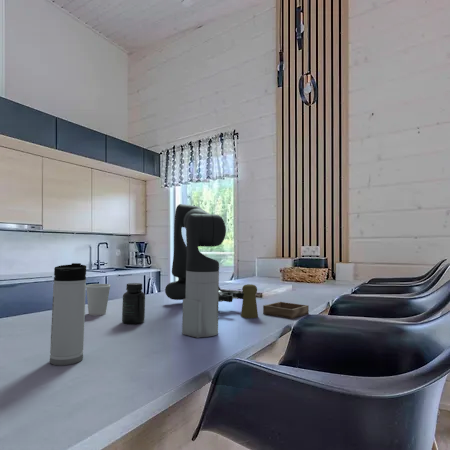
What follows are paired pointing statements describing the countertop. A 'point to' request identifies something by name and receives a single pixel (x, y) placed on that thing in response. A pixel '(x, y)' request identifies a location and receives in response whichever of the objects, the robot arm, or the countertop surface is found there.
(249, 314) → the cork
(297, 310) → the box
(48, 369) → the countertop surface
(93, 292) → the dixie cup
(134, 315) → the supplement bottle
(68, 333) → the travel mug
